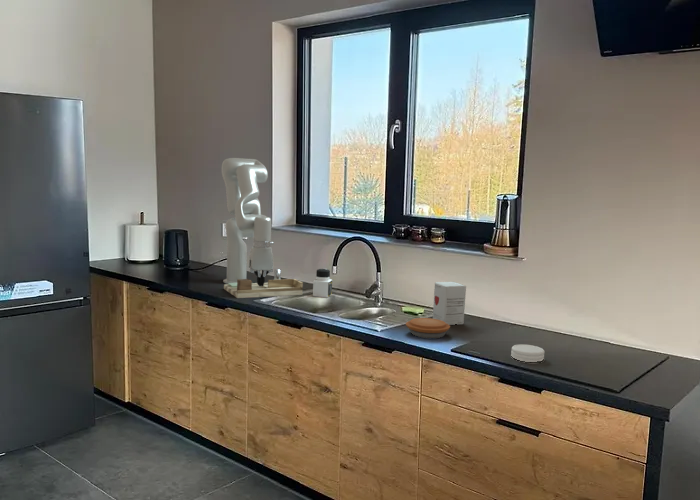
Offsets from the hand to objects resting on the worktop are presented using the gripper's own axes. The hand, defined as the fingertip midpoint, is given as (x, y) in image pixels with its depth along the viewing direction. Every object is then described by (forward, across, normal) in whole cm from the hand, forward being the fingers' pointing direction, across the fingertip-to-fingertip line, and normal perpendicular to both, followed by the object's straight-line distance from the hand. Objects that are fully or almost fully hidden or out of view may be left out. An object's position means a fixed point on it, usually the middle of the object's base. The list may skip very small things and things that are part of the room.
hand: (260, 285), depth 276 cm
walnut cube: (+2, +8, +1) cm, 8 cm away
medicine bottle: (+4, -26, +10) cm, 28 cm away
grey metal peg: (+2, -12, -11) cm, 17 cm away
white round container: (+2, -47, +118) cm, 127 cm away
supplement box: (+3, -51, +70) cm, 87 cm away
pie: (+3, -33, +83) cm, 89 cm away
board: (+4, -3, -5) cm, 7 cm away
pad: (+2, +7, -12) cm, 14 cm away
